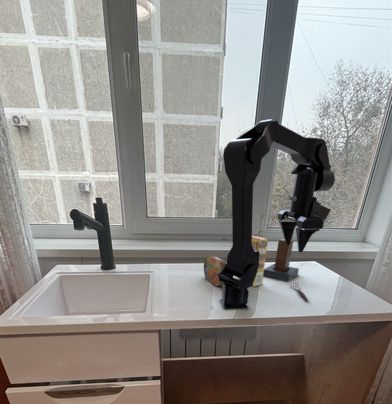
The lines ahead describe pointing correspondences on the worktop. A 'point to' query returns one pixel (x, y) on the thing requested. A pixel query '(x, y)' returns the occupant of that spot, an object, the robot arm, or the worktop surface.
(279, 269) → the walnut post
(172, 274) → the worktop surface
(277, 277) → the base pad
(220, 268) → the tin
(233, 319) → the worktop surface
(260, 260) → the candy box
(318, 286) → the worktop surface
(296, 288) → the fork
